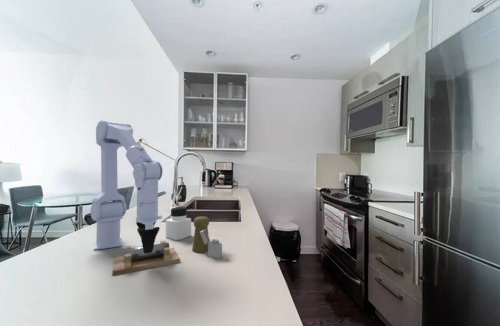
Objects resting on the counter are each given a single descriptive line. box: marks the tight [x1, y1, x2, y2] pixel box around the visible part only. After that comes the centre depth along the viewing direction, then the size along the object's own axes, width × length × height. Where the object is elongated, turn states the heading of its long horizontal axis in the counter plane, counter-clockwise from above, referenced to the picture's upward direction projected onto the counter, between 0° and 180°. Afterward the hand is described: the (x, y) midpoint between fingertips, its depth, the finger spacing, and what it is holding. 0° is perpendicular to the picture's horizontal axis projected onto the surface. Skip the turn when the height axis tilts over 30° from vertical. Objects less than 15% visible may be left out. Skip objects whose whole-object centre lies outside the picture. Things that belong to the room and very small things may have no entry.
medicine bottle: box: [165, 205, 192, 241], centre depth 90 cm, size 7×7×12 cm
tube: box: [123, 242, 170, 263], centre depth 66 cm, size 4×12×4 cm, turn 119°
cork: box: [191, 216, 210, 254], centre depth 76 cm, size 6×6×11 cm
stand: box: [111, 240, 181, 276], centre depth 66 cm, size 10×17×4 cm, turn 119°
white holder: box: [200, 229, 223, 259], centre depth 71 cm, size 7×2×8 cm, turn 72°
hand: (147, 248), depth 66 cm, fingers open, 7 cm apart
